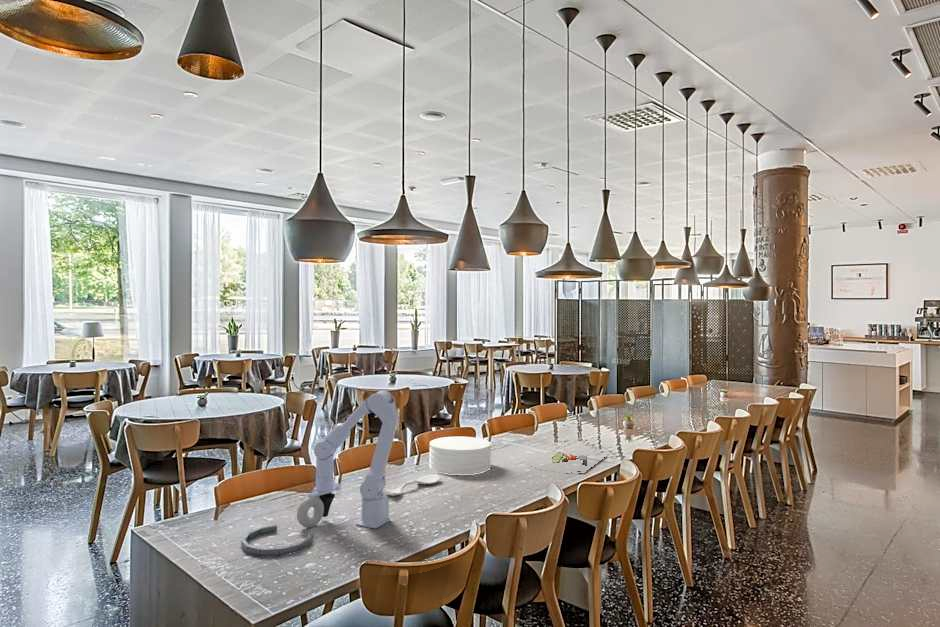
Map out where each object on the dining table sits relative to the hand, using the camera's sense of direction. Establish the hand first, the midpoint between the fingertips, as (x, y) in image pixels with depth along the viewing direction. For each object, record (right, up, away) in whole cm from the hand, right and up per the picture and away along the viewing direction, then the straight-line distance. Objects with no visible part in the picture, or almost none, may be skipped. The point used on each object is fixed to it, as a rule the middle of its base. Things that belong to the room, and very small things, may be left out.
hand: (324, 516), depth 201 cm
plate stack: (+45, -2, +71) cm, 84 cm away
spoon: (+26, -2, +37) cm, 45 cm away
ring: (-10, -1, -21) cm, 23 cm away
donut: (-3, -2, -6) cm, 7 cm away
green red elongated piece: (+97, -4, +86) cm, 130 cm away
